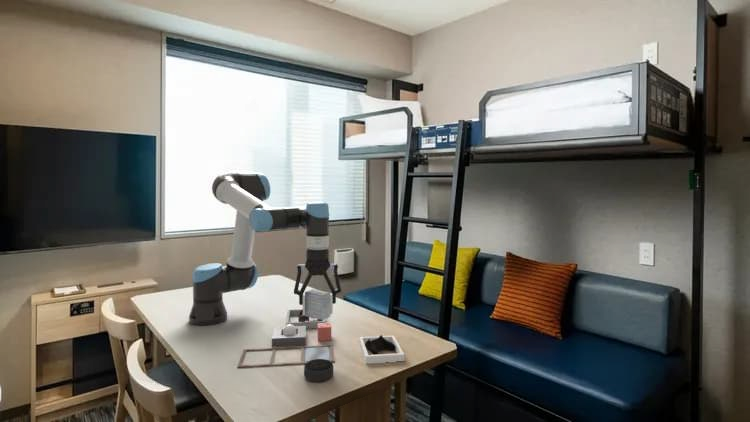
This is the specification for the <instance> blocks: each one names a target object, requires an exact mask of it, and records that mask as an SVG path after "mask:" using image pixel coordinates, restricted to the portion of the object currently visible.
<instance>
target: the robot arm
mask: <svg viewBox="0 0 750 422" xmlns="http://www.w3.org/2000/svg"><path fill="white" fill-rule="evenodd" d="M211 191H212V194H213V196H214V198H215V199H216V200H218V202H220V203H222V204H223V205H225V204H226V205H229V206H231V208H233V209H234V210H236V214H235V221H234V229H233V230H234V231H233V238H232V247H231V252H230V253H231V255H230V256H229V257H228V258H227V260H226V263H225V265H223V264H222V263H219V262H213V263H206V264H202V265H199V266H197V267H195V269H193V272H192V279H191V280H192V298H193V300H192V301H193V303H192V307H191V309H190V312H189V316H188V322H189V324H191V325H194V326H212V325H216V324H217V325H218V324H220V323H222V322H225V321H226V320H227V319H228V312H227V309H226V305H225V303H224V299H223V294H226V293H232V292H237V291H244V290H248V289H250V288H253V287H254V286H255V285H256V283H257V282H258V281H257V280H258V277H259V272H258V266H257V264H255V261H254V259H252V255H253V249H254V242H255V237H256V236H255V234H256V232H270V231H279V230H292V229H293V230H294V229H306V231H305V233H306V236H305V237H306V239H305V240H306V246H305V247H306V255H305V256H306V258H305V259H306V261H305V263H302V264H300V263H298V264H297V265H296V269H297V274H296V280H295V284H294V288H293V294H294V295H297V296H298V297H299V298H298V301H299V302H298V303H299V305H300V306H302V309H303V315H302V316H304V315H305V292H306V289H307V287H308V285H309V282H310V281H311V278H312V277H313V276H314V277H315V276H323V278H324V279H325V282H326V283H327V286H328V287H329V289H330V315H333V312H334V311H333V310H334V309H333V308H334V307H333V305H334V304H336V302H337V294H341V293H342V288H341V283H340V279H339V274H338V268H339V265H338V263H336V262H335V263H331V262H330V254H329V253H330V250H329V247H330V243H329V242H330V240H329V239H330V237H329V236H330V233H329V231H330V211H329V210H330V209H329V207H330V206H329V203H327V202H321V201H318V202H317V201H313V202H310V201H309V202H307V203H306V206H300V205H295V206H294V205H293V206H286V207H285V206H284V207H271V206H270V205H268V204H266V203H264V201H266V200H268V199H269V198H270V196H271V184H270V181H269V178H268V177H267V176H266V175H265V174H264V173H262V172H255V171H228V172H223V173H221V174H219V175H218V176H216V177H215V179H214V180H213V182H212V186H211ZM329 268H330V269H331V271H333V272H332V273H333V276H334V282H335V285H336V288H334V287H335V286H334V285H333V282H332V280H331V279H330V277H329V274H328V272H327V271H328V269H329ZM305 269H306V270H307V271H308V272H307V275H306V277H305V279H304V281H303V283H302V285H301V288H300V289H299V287H300V283H301V277H302V272H303V271H304V270H305Z"/></svg>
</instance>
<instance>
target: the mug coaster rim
mask: <svg viewBox="0 0 750 422" xmlns="http://www.w3.org/2000/svg"><path fill="white" fill-rule="evenodd" d="M302 309H303V308H299V309H298V308H297V309H296V308H295V309H293V308H292V309H287V311H286V318H285V326H286V325H288V324H292V325H294V326H306V330H307V329H318V323H327V321H326V319H324V320H322V321H318V320H317V321H315V320H314V321H305V322H298V321H294V322H292V321H290V317H291V316H293V317H294V316H296V317H298V314H299V312H300V311H301V310H302ZM299 315H300V314H299ZM301 316H304V315H303V314H302V315H301Z"/></svg>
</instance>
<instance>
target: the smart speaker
mask: <svg viewBox="0 0 750 422" xmlns="http://www.w3.org/2000/svg"><path fill="white" fill-rule="evenodd" d="M303 375H304V376H303V377H304V378H305V379H306V380H308V381H310V382H313V383H323V382H326V381H328V380H330V379H331V378H332V377H333V376H334V364H333V363H332V362H330V361H328V360H325V359H315V360H311V361H309V362H307V363H306V364H304V366H303Z"/></svg>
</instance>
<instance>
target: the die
mask: <svg viewBox="0 0 750 422" xmlns="http://www.w3.org/2000/svg"><path fill="white" fill-rule="evenodd" d="M331 323H332V322H327V321H326V323H318V328H317V341H321V342H323V341H332V324H331Z"/></svg>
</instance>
